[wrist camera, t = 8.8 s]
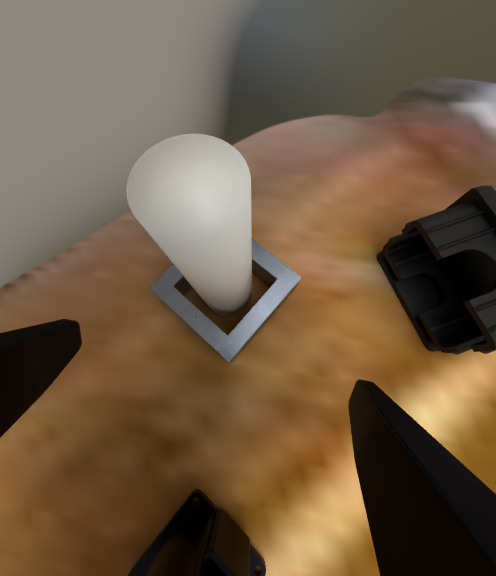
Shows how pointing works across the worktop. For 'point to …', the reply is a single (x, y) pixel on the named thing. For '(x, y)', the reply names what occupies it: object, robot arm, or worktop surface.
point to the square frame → (281, 286)
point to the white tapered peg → (199, 215)
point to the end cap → (449, 274)
